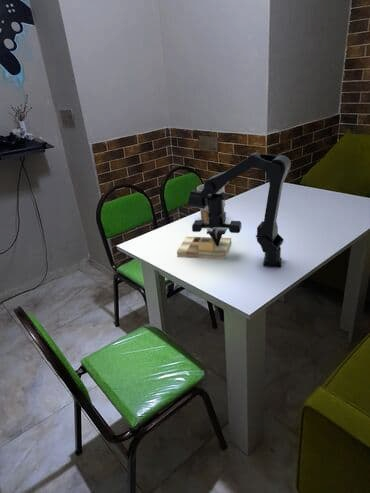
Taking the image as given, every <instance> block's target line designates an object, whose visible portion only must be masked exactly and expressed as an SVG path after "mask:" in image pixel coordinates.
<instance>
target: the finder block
mask: <svg viewBox="0 0 370 493" xmlns="http://www.w3.org/2000/svg"><path fill="white" fill-rule="evenodd" d="M200 237H201V238H200V240H199V242H198V249H199V250H201V251H213V250H214V248H215V246H216V244H215V242H214V240H213V239H212V238H208V237H209V236H208V237H207V236H206V237H205V236H200Z"/></svg>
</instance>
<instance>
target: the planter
mask: <svg viewBox="0 0 370 493" xmlns="http://www.w3.org/2000/svg"><path fill="white" fill-rule="evenodd" d="M203 189H204V183H203V184H200V185H198V186H197V187H196V191H202V190H203ZM225 190H226V189H225V186H224V187H223V188H222V189H221V190H219V191H218V192H217V194H221V193H222V192H224V193H225V194H226V192H225ZM209 195H211V194H209ZM225 207H226V199H225V200H223V211H224V212H225ZM198 209H199V210H200V220H204V221H205V223H209V217H208V206H206V207H205V208H204V209H202V208H198ZM224 223H226V221H225V222H224Z"/></svg>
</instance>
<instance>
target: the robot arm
mask: <svg viewBox="0 0 370 493" xmlns="http://www.w3.org/2000/svg"><path fill="white" fill-rule="evenodd" d="M291 164H292V163H291V160H290V158H289V157H288V156H286V155H284V154H282V155H281V154H279V155H276V154H275V155H274V154H267V153H261V152H258V151H256V152H253V153H252V154H250V155H249V156H248V157H246V158H245V159H243V160H242V161H240V162H239V163H237V164H235V165H234V166H233V167H231V168H229V169H228V170H226V171H224V172H220V173H218V174H215V175H213V176H211V177H209V178H208V179H206V180H205V181H204V183H203V184H204V189H203V190H202V191H197V189H196V190H195V189H192V190H190V192H189V196H188V200H187V204H188V207H189V208H194V209H199V208H202V209H204V208H205V207H206V206H208V217H209V222H208V223H205V221H204V220H201V219H196V220H194V222H193V223H192V225H191V231H192V232H193V233H200V232H201V231H202V229H206V234H207V235H209V237H212V239H213V240H214V242H215V244H216V246H219V243H220V240H221V236H223V235H226V233H227V230H228V231H229V233H230V234H239V233H241V229H242V222H241V220H231V221H230V223H226V219H227V218H226V217H227V216H226V215H227V212H226V211H225V210H224V211H223V200H225V201H226V199H227V198H228V197H229V195H227V194H226V192H225V193H224V192H222V193H221V194H217V192H218V191H219V190H221V189H222V188H223V187H224V188H225V187H226V185H228V184H229V183H230V182H231V181H232V180H234V179H235V178H237V177H239V176H241V175H242V174H244V173H246V172H247V171H249V170H250V169H252V168H256V169H258V170H259V171H262V172H264V173H267V179H268V183H269V184H268V185H269V187H268V195H267V199H266V200H267V201H266V206H265V213H264V220H263V221H261V222H260V223H259V224H258V226H257V228H256V235H255V238H256V242H257V244H259V245H260V247H261V251H262V252H263V253H264V257H263V262H262V266H263V267H269V268H270V267H271V268H281V267H282V256H281V252H282V247H281V246H282V245H283V243H284V238H283V237H282V236H281V235H280V234H279V233H278V232H279V231H278V230H279V229H278V228H279V227H278V223H277V219H278V214H279V208H280V207H279V206H280V201H281V196H282V190H283V185H284V182H285V180H286V178H287V176H288V173H289V171H290V167H291ZM209 194H211V195H209ZM224 222H225V223H224ZM217 229H218V233H217Z"/></svg>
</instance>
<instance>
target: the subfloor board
mask: <svg viewBox="0 0 370 493" xmlns="http://www.w3.org/2000/svg"><path fill="white" fill-rule="evenodd" d="M201 237H202V236H186V237H184V239H183V241H182V243H181V244H180V245H179V247H178V249H177V251H176V255H177V258H178V257H180V258H197V259H198V258H199V259H200V258H201V259H216V260H217V259H219V260H227V256H228V255H229V254H228V253H229V251H230V248H231V246H232V237H222V238H221V240H220V243H219V246H215V248H214V250H213V251H201V250H199V249H198V242H199V240H200V238H201ZM208 238H212V237H211V236H208Z"/></svg>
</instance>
